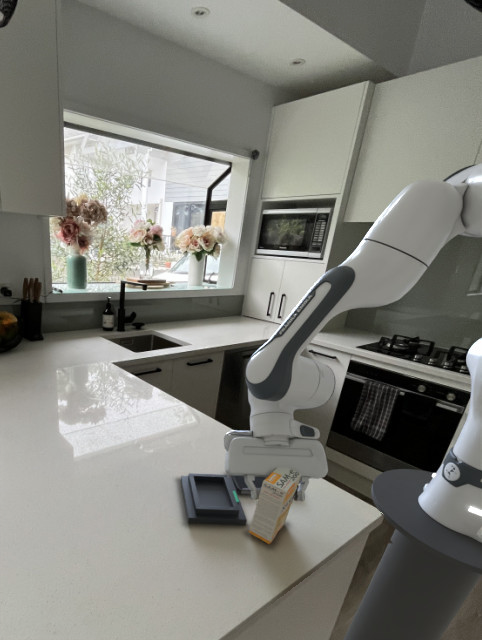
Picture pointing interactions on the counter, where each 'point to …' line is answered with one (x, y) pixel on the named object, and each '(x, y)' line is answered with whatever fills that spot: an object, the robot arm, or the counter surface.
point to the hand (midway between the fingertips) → (278, 500)
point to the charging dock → (211, 500)
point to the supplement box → (274, 503)
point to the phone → (243, 488)
